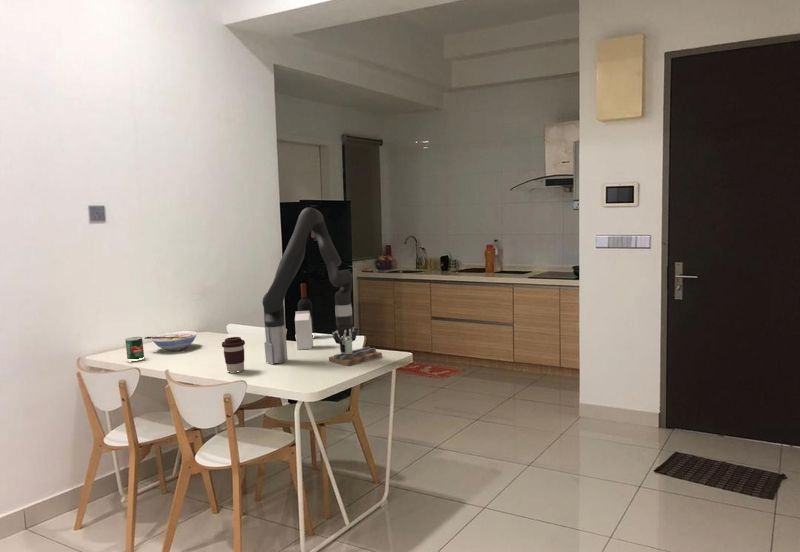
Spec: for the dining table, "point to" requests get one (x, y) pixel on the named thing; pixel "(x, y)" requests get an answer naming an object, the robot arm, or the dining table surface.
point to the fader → (348, 347)
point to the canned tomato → (134, 348)
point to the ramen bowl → (174, 340)
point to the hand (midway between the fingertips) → (346, 351)
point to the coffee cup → (234, 353)
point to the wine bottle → (305, 303)
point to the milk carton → (303, 330)
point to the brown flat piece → (356, 356)
